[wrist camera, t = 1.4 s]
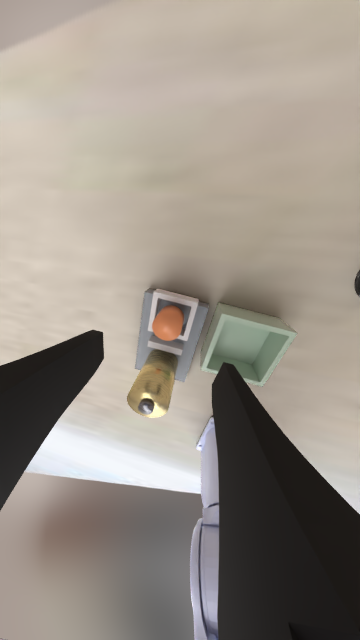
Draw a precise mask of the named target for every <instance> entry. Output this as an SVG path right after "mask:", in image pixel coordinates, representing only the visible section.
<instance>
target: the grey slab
mask: <svg viewBox="0 0 360 640" xmlns="http://www.w3.org/2000/svg"><path fill="white" fill-rule="evenodd" d="M198 300H199V299H196V298H192V297H189V296H185V295H181V294H177V293H173V292H169V291H165V290H162V289H156V290H152V289H148V290H147V291H145V294H144V302H143V310H142V318H141V326H140V333H139V341H138V349H137V357H136V365H135V369H138V370H141V369H142V367H143V365H144V363H145V361H146V359H147V357H148V355H149V354H150V352H151V351H153V350H155V349H159V350H162V351H166V352H170V353H173V354H175V356H176V357H177V360H178V366H177V371H176V376H175V380H178V381H182V382H185V379H186V376H187V373H188V370H189V367H190V364H191V361H192V358H193V355H194V352H195V349H196V346H197V343H198V340H199V337H200V334H201V331H202V328H203V324H204V321H205V318H206V315H207V312H208V309H209V306H208V304H206V303H202V302H198ZM168 305H173V306H176V307H178V308H180V309H181V311H182V312H183V314H184V322H183V326H182V330H181V333H180V335H179V336H178V337H177V338H176V339H174V340H171V341H165V340H162V339H160V338H158V337H157V336H156V335H155V334H154V332H153V329H152V323H153V321H154V319H155V318H156V316H157V315H158V314H159V312H160V311H161V309H162V308H164V307H165V306H168Z"/></svg>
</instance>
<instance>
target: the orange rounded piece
mask: <svg viewBox="0 0 360 640" xmlns="http://www.w3.org/2000/svg"><path fill="white" fill-rule="evenodd" d="M183 322H184V314H183V312H182V311H181V309H180V308H178V307H176V306H173V305H168V306H165V307H164V308H162V309H161V311H160V312H159V314H158V315H157V316H156V318H155V319H154V321H153V323H152V329H153V332H154V334H155V335H156V336H157V337H158V338H160V339H162V340H165V341H171V340H174V339H176V338H177V337H178V336H179V335H180V333H181V330H182V326H183Z"/></svg>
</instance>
